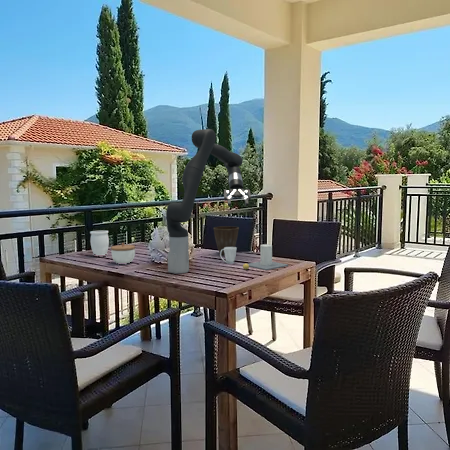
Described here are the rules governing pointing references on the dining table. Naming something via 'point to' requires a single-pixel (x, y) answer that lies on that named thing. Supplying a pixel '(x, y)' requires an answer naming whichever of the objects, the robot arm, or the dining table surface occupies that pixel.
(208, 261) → the dining table surface
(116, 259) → the lidded bowl
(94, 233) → the jar
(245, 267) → the ball
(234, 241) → the plant pot
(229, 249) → the cup
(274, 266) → the rubber mat
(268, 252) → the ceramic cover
